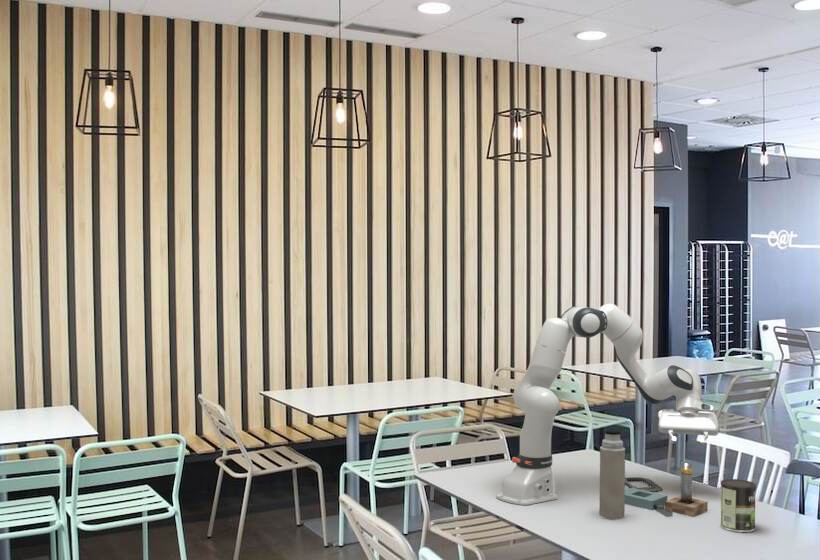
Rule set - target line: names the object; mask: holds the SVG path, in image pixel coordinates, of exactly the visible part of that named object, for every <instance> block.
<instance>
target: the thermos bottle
mask: <svg viewBox="0 0 820 560" xmlns="http://www.w3.org/2000/svg"><path fill="white" fill-rule="evenodd" d="M604 433H605V434H604V438H603V439H602V442H601V446H600V447H599V516H600V517H601V518H603V517H604V518H603V519H607V520H620V519H624V518H625V505H626V504H625V490H626V489H625V487H626V484H625V477H626V475H625V473H626V448H625V447H624V441H623V440H621V430H618V429H605V431H604Z"/></svg>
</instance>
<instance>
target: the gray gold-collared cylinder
mask: <svg viewBox="0 0 820 560" xmlns="http://www.w3.org/2000/svg"><path fill="white" fill-rule="evenodd" d="M693 471H694V470H693V462H691V461H681V462H680V496H681V503H686V504H691V503H692V498H693Z"/></svg>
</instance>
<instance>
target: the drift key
mask: <svg viewBox="0 0 820 560" xmlns="http://www.w3.org/2000/svg"><path fill="white" fill-rule="evenodd" d="M653 511H656V512H658V513H660V514H661V515H664V516H665V517H666V518H667V517H668V518H669V517H673V512H671V511H669V510H667V509H665V505H664V506H663V505H661V504H654V510H653Z"/></svg>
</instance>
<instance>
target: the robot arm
mask: <svg viewBox="0 0 820 560" xmlns="http://www.w3.org/2000/svg"><path fill="white" fill-rule="evenodd" d="M599 334H603V335H604V336H606V338H607V339H608V340H609V341H610V342H611V343H612V345H613V346H614V349H615V357H616V359H617V361H618V362H619V364H620V366H621V367H622V368H623V369H624V371H625V372H626V374H627V375H628V376H629V378H630V379H631V380H632V382H633V383H634V384H635V386H636V387H637V389H638V391H639V393H640V395H641V398H643V399H644V401H646V402H647V403H650V404H652V405H659V404H661V403H662V402H664V401H665V400H666V399H668V398H670V397H673V396H675V398H676V400H675V408H669V409H667V408H663V409H661V410H659V411H658V412H657V417H658V419H659V420H658V431H659V432H660V433H661V434H668V436H669V438H670V440H671V443H672V444H677V437H676V436H674V434H676V435H692V436H693V435H696V436H697V435H698V436H703V437H702V438H700V439H699V442H700V443H699V445H700V446H705V444H706V443H705V442H706V441H707V439H708V438H709V436H717V435H719V433H720V432H719V431H720V429H719V421H718V416H717V415H716V411H715V407H714V405H711V404H708V403H705V402H702V400H701V397H702V395H703V394H702V392H703V391H702V388H703V387H702V381H701V378H700V374H699V373H698V372H697V371H696V370H694V369H692V368H682V367H680V366H678V365H676V364H675V365H673V364H672V365H669V366H667V367H665V368H664V369H661V370H660V371H657V372H656V373H654V374H652V375H650V374H647V373H646V372H645V370H644V368H643V367H642V366H641V364H640V363H639V362H638V360H637V358H636V355H635V354H636V353H637V351H638V350H639V348H641V346H642V343H643V340H644V333H643V329H642V328H641V327H640V325H639V324H638V323H637V322H636V321H635V320H634V319H633V318H632V317H631V316H630V315H629V314H628V313H627V312H626V311H624V310H623V309H622V308H620V307H619V306H617V305H616V304H614V303H605V304H603V305H602V306H600V307H599V308H598V309H597V308H593V307H588V306H585V305H579V306H578V305H577V306H571V307H569V308H568V309H567V310H565V311H564V313H563V314H562V315H560V316H559V317H550V318H547V319H546V320H545V321H544V323H543V324H542V327H541V329H540V331H539V334H538V336H537V338H536V339H537V340H536V342H535V346H534V349H533V352H532V356H531V359H530V361H529V364H528V367H527V369H526V371H525V373H524V375H523V378H522V379H521V381H520V383H519V384H518V385H517V386H516V387H515V389H514V390H513V394H512V397H513V400H514V404H515V405H516V407H517V408H518V409H519V410H520V411H521V412H524V421H523V425H522V428H521V430H520V431H519V453H518V455H517V457H516V456H513V457H512V458H511V462H512V463H514V464H516V465H515V467H514V468H513V470H512V471H510V473H509V475H507V476H506V478H505V479H504V481H503V486H502V491H500V492H499V493H497V494H496V495H495V498H496V499H497V500H500V501H503V502H505V503H509V504H515V505H521V506H530V505H533V504H538V503H544V502H549V501H553V500H558V495H557V494H556V488H555V487H556V486H555V476H554V475H555V474H554V473H553V470H552V466H553V455H552V430H553V427H554V421H555V417H556V416H557V414H558V412H559V410H560V401H559V398H558V396H557V395H556V394H555V393H554V392H553V391H552V390H551V389H550V388H551V386H552V385H553V383H554V381H555V379H557V377H558V376H559V375H560V373H561V370H562V367H563V363H564V360H565V356H566V353H567V351H568V350H567V349H568V346H569V344H570V341H571V340H572V339H573V338H574V337H577V338H587V339H589V338H594V337H595V336H597V335H599Z"/></svg>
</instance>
